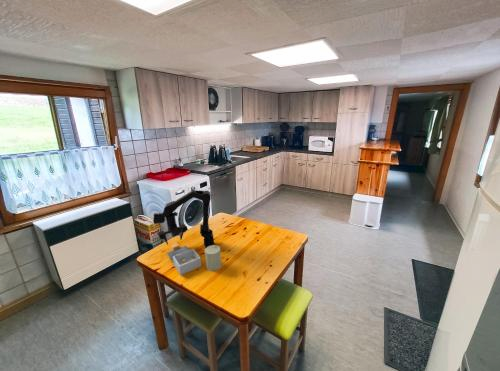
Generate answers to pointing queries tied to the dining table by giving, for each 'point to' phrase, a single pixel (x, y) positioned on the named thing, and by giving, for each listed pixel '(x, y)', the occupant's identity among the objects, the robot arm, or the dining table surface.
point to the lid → (176, 250)
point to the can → (213, 257)
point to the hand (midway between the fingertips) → (174, 242)
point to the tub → (186, 261)
